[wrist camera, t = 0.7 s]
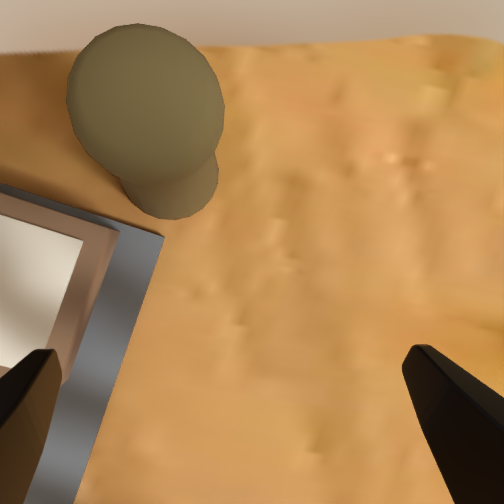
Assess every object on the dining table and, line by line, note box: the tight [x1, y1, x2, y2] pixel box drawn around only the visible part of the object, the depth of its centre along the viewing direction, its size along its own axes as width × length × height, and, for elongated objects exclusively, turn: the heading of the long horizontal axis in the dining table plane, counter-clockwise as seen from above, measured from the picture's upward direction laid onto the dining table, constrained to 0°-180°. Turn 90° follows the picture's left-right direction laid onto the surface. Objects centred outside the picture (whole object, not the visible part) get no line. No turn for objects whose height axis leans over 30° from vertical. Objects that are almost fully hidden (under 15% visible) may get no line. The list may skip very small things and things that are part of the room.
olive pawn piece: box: [66, 23, 225, 220], centre depth 16 cm, size 6×6×11 cm
